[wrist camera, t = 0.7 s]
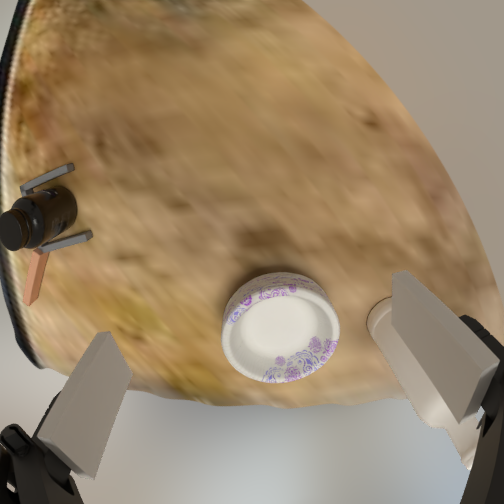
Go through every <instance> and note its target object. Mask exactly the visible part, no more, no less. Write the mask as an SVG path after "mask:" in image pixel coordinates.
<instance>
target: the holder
mask: <svg viewBox="0 0 504 504" xmlns="http://www.w3.org/2000/svg"><path fill="white" fill-rule="evenodd" d="M73 170H74V166H73V163H72V164H67V165H64V166H62V167H60V168H57V169H55V170H53V171H51V172H48V173H46V174H44V175H42V176H40V177H38V178H36V179H34V180H32V181H29V182H27V183H25V184H23V185H21V186H20V190H21V194H22V197H24V196H26V195H29V194H32V193H33V191H32V188H34V187H36V186H38V185H41V184H43V183H45V182H47V181H50V180H52V179H54V178H57V177H59V176H61V175H64V174H66V173H68V172H71V171H73ZM92 237H93V236H92V233H91V230H90V231H87V232H83V233H80V234H76V235H73V236H70V237H66V238H63V239H60V240H56V241H53V242H50V243H48V242H46V243H44V244H42V245H41V246H39V247H37V248H36V249H35V250H33V253H32V258H31V262H30V266H29V271H28V275H27V280H26V286H25V291H24V297H23V302H24V303H25V304H26V305H27V306H30V305H31V304H32V303H33V302H34V301H35V300H36V299H37V298H38V294H39V289H40V285H41V281H42V277H43V273H44V269H45V265H46V261H47V258H48V254H49V251H53V250H56V249H60V248H63V247H67V246H71V245H74V244H78V243H81V242H85V241H88V240H89V239H91V238H92Z"/></svg>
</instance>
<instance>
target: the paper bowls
mask: <svg viewBox="0 0 504 504" xmlns="http://www.w3.org/2000/svg"><path fill="white" fill-rule="evenodd" d="M339 335H340V323H339V319H338V316H337V314H336V311H335V310H334V308H333V306H332V303H331V302H330V300H329V298H328V296H327V295H326V293H325V292H324V291H323V289H322V288H321V287H320V286H319V285H318V284H317V283H315V282H314V281H313V280H312V279H310V278H307V277H305V276H303V275H300V274H295V273H288V272H278V273H269V274H265V275H262V276H258V277H256V278H254V279H252V280H250V281H248V282H247V283H245V284H244V285H243V286H241V287H240V288H239V289H238V290H237V291H236V292H235V293H234V294H233V296H232V297H231V298H230V300H229V302H228V303H227V306H226V308H225V311H224V315H223V322H222V332H221V344H222V348H223V351H224V354H225V356H226V358H227V359H228V361H229V362H230V364H231V365H232V366H233V367H234V368H235V369H236V370H237V371H239V372H240V373H242V374H243V375H245V376H247V377H249V378H251V379H254V380H257V381H261V382H267V383H284V382H290V381H295V380H298V379H300V378H303V377H305V376H308V375H310V374H311V373H313V372H315V371H316V370H317V369H319V368H320V367H321V366H322V365H324V364H325V363H326V362H327V360H328V359H329V358H330V357H331V355H332V354H333V352H334V350H335V348H336V346H337V343H338V340H339Z"/></svg>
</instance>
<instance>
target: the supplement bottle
mask: <svg viewBox="0 0 504 504" xmlns="http://www.w3.org/2000/svg"><path fill="white" fill-rule="evenodd" d="M75 218H76V203H75V200H74V198H73V196H72V194H71V193H70V192H69V191H68V190H67V189H65V188H63V187H60V186H55V187H51V188H48V189H45V190H41V191H38V192H35V193H32V194H29V195H26V196H24V197H21V198H19V199H18V200H17V201H16V202H15V203H14V204H13V206H12V208H11V209H10V210H9V211H6V212H5V213H3V214H2V215H1V216H0V240H1V242H2V243H3V245H4V246H5V247H6V248H7V249H8V250H10V251H17V250H19V249H21V248H27V249H34V248H37V247H39V246H41V245H42V244H44V243H46V242H47V241H49V240H51V239H52V238H54V237H56V236H57V235H59V234H61V233H62V232H64V231H66V230H67V229H69V228H70V227H71V226H72V224H73V223H74V221H75Z"/></svg>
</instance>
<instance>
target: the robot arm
mask: <svg viewBox="0 0 504 504" xmlns="http://www.w3.org/2000/svg"><path fill="white" fill-rule="evenodd" d="M391 325H392V326H393V328H394V329H395V330H396V332H397V333H398V334H399V336H400V337H401V339H402V340H403V341H404V343H405V344H406V346H407V347H408V348H409V350H410V351H411V353H412V354H413V355H414V357H415V358H416V360H417V361H418V363H419V364H420V366H421V367H422V368H423V370H424V371H425V373H426V374H427V376H428V377H429V379H430V380H431V382H432V383H433V385H434V386H435V388H436V389H437V391H438V392H439V394H440V395H441V397H442V399H443V400H444V402H445V403H446V405H447V406H448V408H449V410H450V411H451V413H452V414H453V416H454V418H455V419H456V421H457V422H458V424H459V425H460V424H462V423H464V422H465V421H467V420H469V419H471V418H473V417H474V416H476V414H477V412H478V410H479V408H480V406H482V408H483V409H484V411H485V412H484V414H483V416H482V418H481V420H480V422H479V423H478V426H477V428H476V429H479V428H480V426H481V429H480V434H479V439H478V444H477V448H476V452H475V456H474V460H473V464H472V468H471V471H470V475H469V478H468V481H467V484H466V488H465V490H464V494H463V496H462V499H461V502H460V504H504V347H503V346H502V345H501V344H500V343H499V342H498V341H497V340H496V339H495V338H494V337H493V336H492V335H490V333H489V332H488V331H487V330H486V329H484V327H483V326H482V325H481V324H480V323H479V322H478V321H477V320H476V319H473V318H471V317H469V316H467V315H463V316H461V317H457V316H456V315H455V314H454V313H453V312H452V311H451V310H450V309H449V308H448V307H447V306H446V305H445V304H444V303H443V302H442V301H441V300H439V299H438V298H437V297H436V296H435V295H434V294H433V293H432V292H431V291H430V290H429V289H427V288H426V287H425V286H424V285H423V284H422V283H421V282H420V281H419V280H417V279H416V278H415V277H414V276H413V275H412V274H411V273H409V272H408V271H407V270H404V271H401V272H397V273H394V274H392V316H391ZM132 375H133V373H132V371H131V370H130V368H129V366H128V364H127V363H126V361H125V359H124V357H123V355H122V354H121V352H120V350H119V348H118V346H117V344H116V342H115V340H114V339H113V337H112V335H111V333H110V331H108V332H100V333H97V334H96V336H95V337H94V339H93V340H92V342H91V343H90V345H89V347H88V348H87V350H86V351H85V353H84V354H83V356H82V358H81V359H80V361H79V362H78V364H77V366H76V367H75V369H74V371H73V372H72V374H71V375H70V377H69V379H68V381H67V382H66V384H65V386H64V387H63V389H62V391H60V392H59V393H58V394H57V395H56V396H55V397H54V398H53V400H52V402H51V404H50V405H49V408H48V409H47V410H46V412H45V415H44V416H43V418H42V420H41V422H40V423H39V425H38V427H37V429H36V431H35V432H34V434H33V437H32V438H30V437H29V436H28V435H27V434H26V432H25V431H24V430H23V429H22V428H21V427H20V426H19V425H18V424H11V425H8V426H7V427H5V429H4V430H3V431H2V432H1V434H0V443H1V444H2V445H3V446H4V447H5V448H6V449H7V450H6V449H5V448H4V447H3V446H2V445H1V444H0V504H84V503H83V501H82V498H81V496H80V494H79V491H78V489H77V486H76V484H75V481H74V479H73V478H72V476H70V475H69V474H70V471H71V470H72V471H74V472H75V473H76V474H77V475H78V476H80V477H82V478H87V479H91V480H94V479H95V476H96V473H97V470H98V467H99V464H100V461H101V458H102V455H103V452H104V449H105V447H106V444H107V441H108V438H109V435H110V432H111V429H112V427H113V424H114V421H115V419H116V416H117V413H118V411H119V407H120V405H121V403H122V400H123V397H124V395H125V392H126V390H127V387H128V385H129V382H130V380H131V377H132ZM7 482H8V483H9V484H11V485H12V486H13V487H14V488H15V492H12V491H11V490H9V489H8V488H7Z"/></svg>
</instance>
